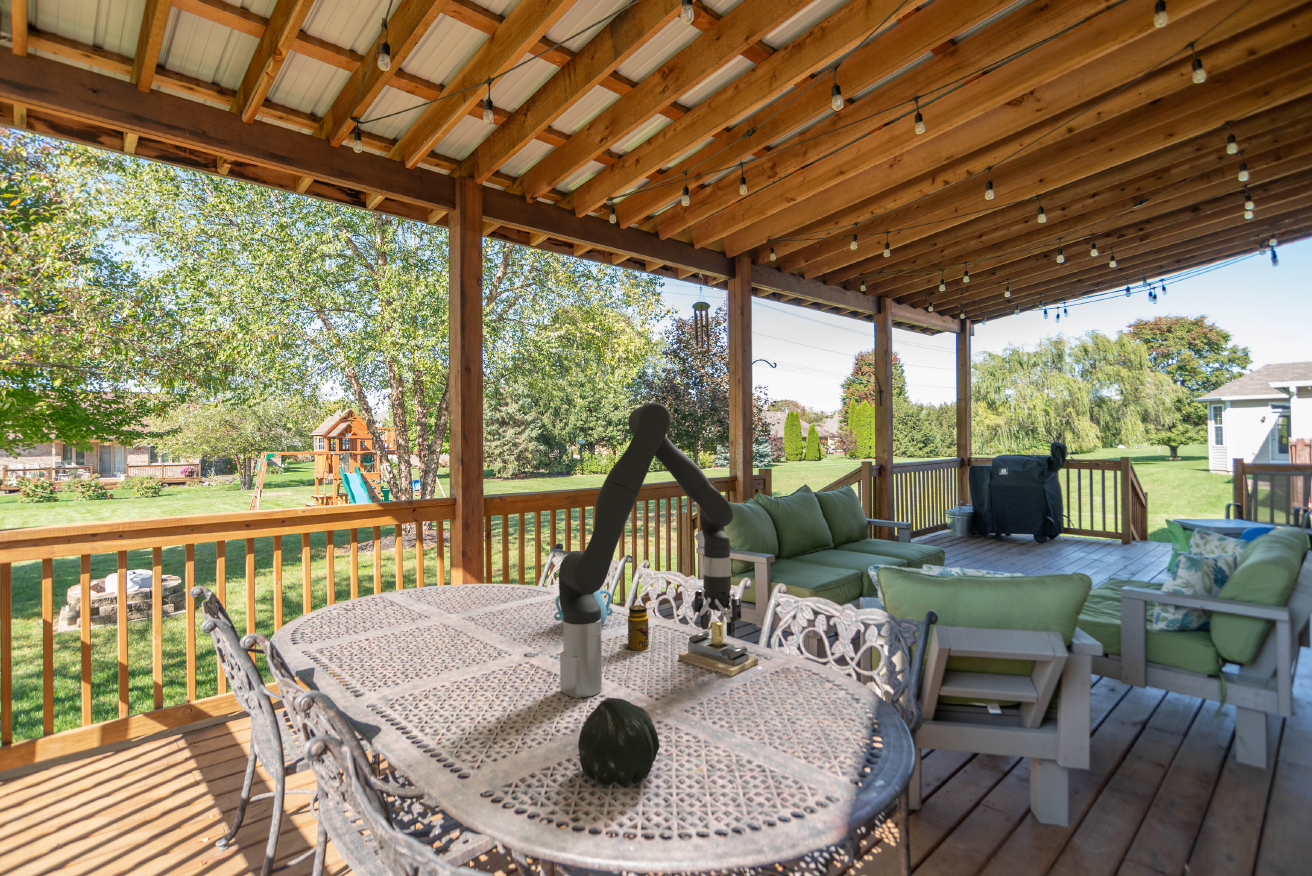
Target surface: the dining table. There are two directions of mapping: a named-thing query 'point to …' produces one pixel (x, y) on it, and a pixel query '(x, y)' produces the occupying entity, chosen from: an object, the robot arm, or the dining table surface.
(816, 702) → the dining table surface
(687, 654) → the clamp block fixture
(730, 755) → the dining table surface
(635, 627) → the condiment
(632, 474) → the robot arm
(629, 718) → the squash
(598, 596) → the decorative pot
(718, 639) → the brass pin
